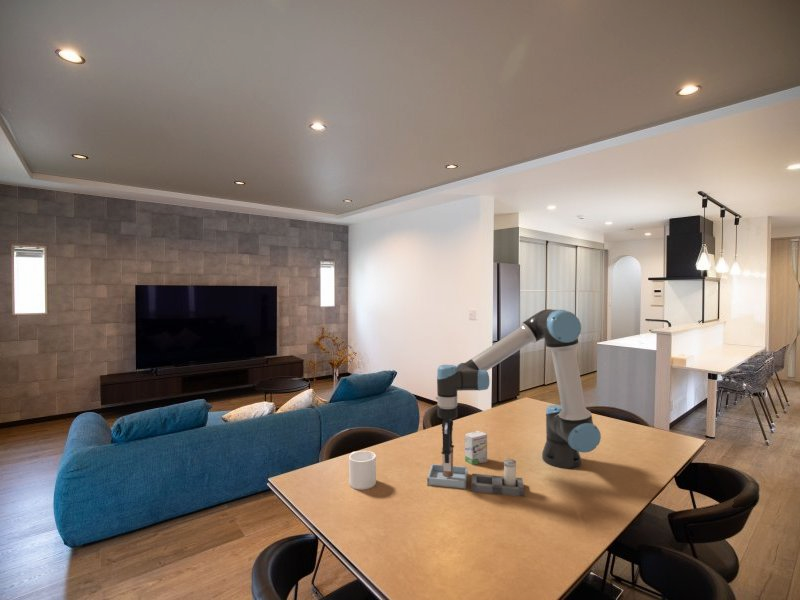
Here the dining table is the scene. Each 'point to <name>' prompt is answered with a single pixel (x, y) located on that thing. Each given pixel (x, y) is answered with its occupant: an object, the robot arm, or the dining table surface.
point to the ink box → (475, 447)
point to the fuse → (510, 472)
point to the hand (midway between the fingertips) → (447, 467)
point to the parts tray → (455, 481)
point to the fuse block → (495, 485)
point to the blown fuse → (450, 473)
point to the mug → (362, 470)
